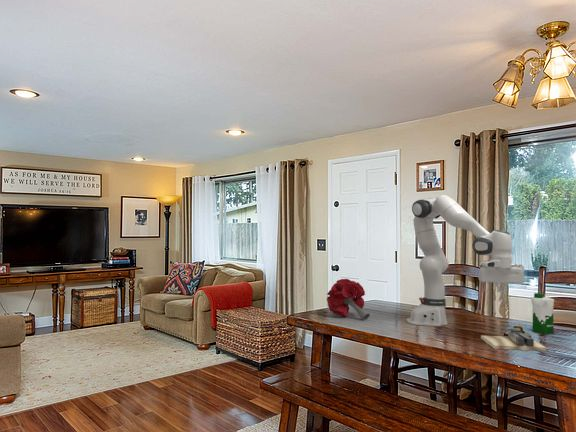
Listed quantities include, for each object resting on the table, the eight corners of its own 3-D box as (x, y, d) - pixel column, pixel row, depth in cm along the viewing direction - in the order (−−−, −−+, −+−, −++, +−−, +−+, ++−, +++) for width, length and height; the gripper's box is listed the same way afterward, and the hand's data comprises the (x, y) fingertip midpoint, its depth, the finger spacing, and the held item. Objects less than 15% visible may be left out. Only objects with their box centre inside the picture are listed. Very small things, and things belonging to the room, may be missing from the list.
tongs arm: (508, 338, 199) (508, 331, 199) (514, 338, 198) (514, 332, 198) (518, 345, 186) (518, 338, 186) (524, 345, 185) (524, 338, 186)
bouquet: (371, 327, 254) (339, 297, 273) (385, 297, 245) (351, 268, 264) (348, 335, 240) (316, 303, 260) (362, 303, 231) (328, 273, 251)
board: (494, 348, 187) (494, 345, 187) (480, 338, 204) (480, 335, 204) (546, 351, 184) (546, 347, 184) (528, 340, 202) (528, 337, 202)
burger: (499, 335, 212) (499, 320, 212) (513, 333, 217) (513, 318, 218) (522, 341, 201) (522, 325, 201) (536, 338, 207) (536, 323, 207)
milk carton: (539, 329, 224) (539, 292, 225) (556, 333, 216) (556, 295, 217) (529, 331, 220) (529, 293, 221) (546, 335, 212) (546, 296, 213)
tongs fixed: (505, 336, 202) (505, 327, 202) (517, 337, 201) (517, 327, 201) (520, 346, 186) (520, 335, 186) (533, 346, 185) (533, 336, 185)
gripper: (521, 263, 205) (521, 291, 204) (477, 262, 208) (477, 289, 207) (527, 264, 198) (526, 293, 198) (481, 263, 201) (481, 291, 201)
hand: (501, 291), depth 203 cm, fingers closed
